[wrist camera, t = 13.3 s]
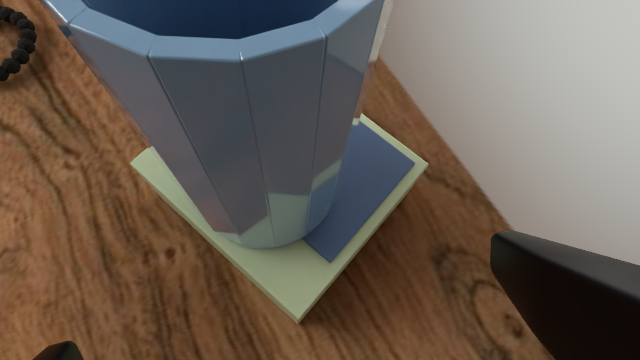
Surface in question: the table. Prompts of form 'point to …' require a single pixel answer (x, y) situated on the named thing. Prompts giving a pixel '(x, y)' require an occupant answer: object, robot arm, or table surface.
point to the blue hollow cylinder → (238, 98)
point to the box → (330, 235)
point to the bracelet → (23, 46)
